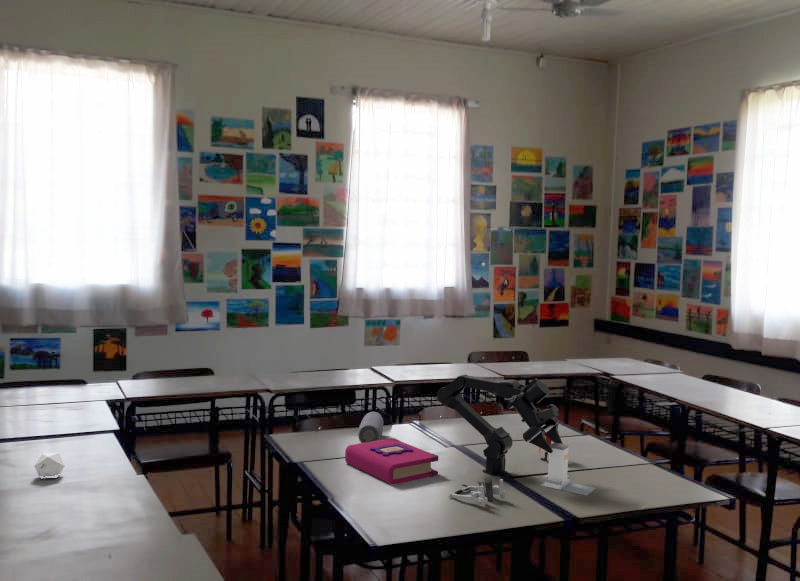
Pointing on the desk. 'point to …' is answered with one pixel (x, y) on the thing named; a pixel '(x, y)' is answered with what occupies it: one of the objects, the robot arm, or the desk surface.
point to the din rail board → (567, 486)
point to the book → (391, 460)
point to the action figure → (545, 451)
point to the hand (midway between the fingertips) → (557, 449)
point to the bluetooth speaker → (371, 427)
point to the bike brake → (481, 492)
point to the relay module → (558, 462)
